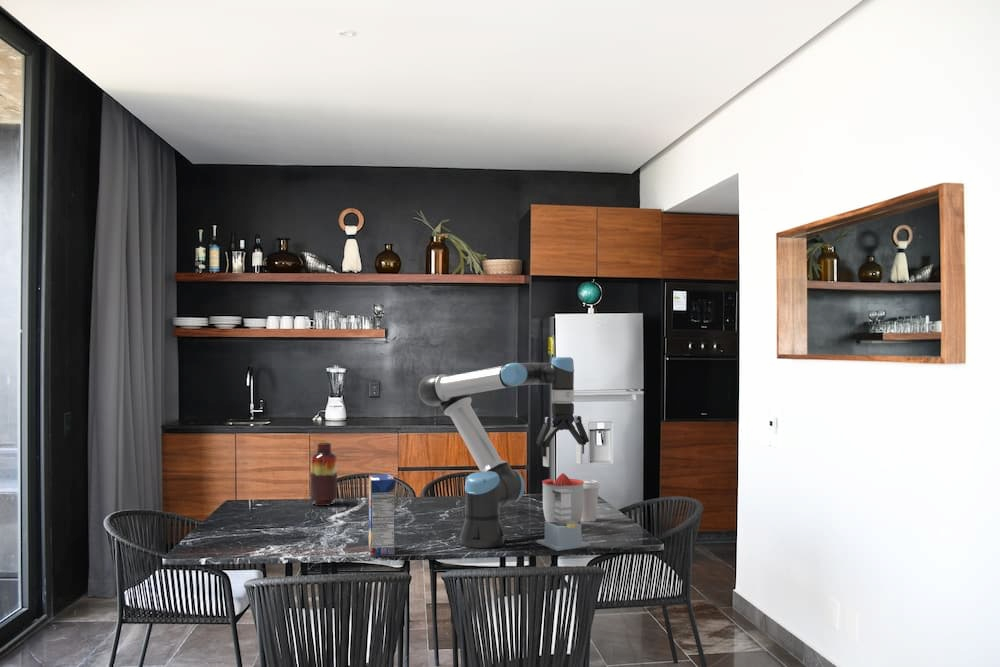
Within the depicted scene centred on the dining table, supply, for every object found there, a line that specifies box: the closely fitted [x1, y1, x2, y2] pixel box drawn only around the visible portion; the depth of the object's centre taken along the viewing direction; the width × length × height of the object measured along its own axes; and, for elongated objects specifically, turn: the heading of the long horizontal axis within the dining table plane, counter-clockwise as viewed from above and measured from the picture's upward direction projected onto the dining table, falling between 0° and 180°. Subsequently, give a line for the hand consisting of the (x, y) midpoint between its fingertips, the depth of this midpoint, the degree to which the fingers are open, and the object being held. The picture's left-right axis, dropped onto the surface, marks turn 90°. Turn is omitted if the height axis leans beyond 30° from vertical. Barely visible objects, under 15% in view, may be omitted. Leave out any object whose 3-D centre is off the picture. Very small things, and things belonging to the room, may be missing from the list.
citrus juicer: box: [541, 472, 584, 524], centre depth 288 cm, size 16×17×20 cm
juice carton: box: [368, 473, 396, 557], centre depth 252 cm, size 12×8×24 cm, turn 13°
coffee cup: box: [581, 479, 601, 523], centre depth 300 cm, size 10×10×15 cm
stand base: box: [536, 521, 591, 552], centre depth 261 cm, size 13×13×8 cm
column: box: [552, 489, 574, 527], centre depth 261 cm, size 5×5×18 cm
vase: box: [310, 441, 338, 505], centre depth 332 cm, size 11×11×26 cm
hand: (562, 465), depth 262 cm, fingers open, 13 cm apart
